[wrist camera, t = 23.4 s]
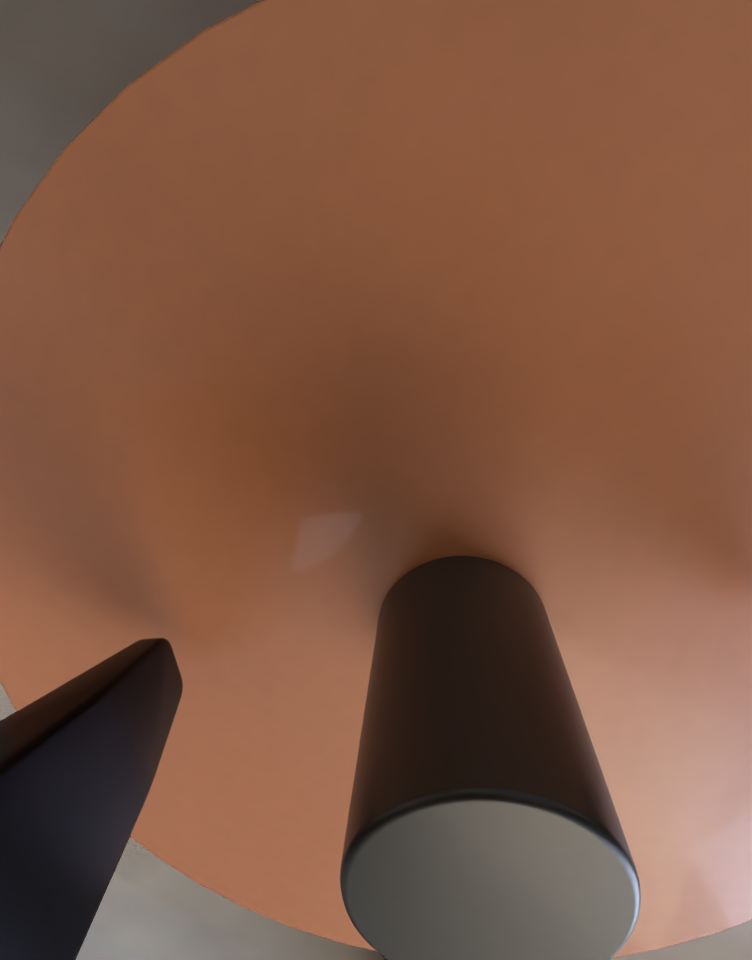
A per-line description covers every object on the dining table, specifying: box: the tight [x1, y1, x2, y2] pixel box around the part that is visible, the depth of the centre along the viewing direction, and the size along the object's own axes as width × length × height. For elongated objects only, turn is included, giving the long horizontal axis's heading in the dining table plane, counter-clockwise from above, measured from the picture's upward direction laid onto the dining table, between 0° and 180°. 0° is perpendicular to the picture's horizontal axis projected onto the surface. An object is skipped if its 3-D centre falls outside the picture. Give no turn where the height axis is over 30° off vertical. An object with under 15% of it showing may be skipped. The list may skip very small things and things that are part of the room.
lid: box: [0, 0, 752, 960], centre depth 7 cm, size 17×17×5 cm
